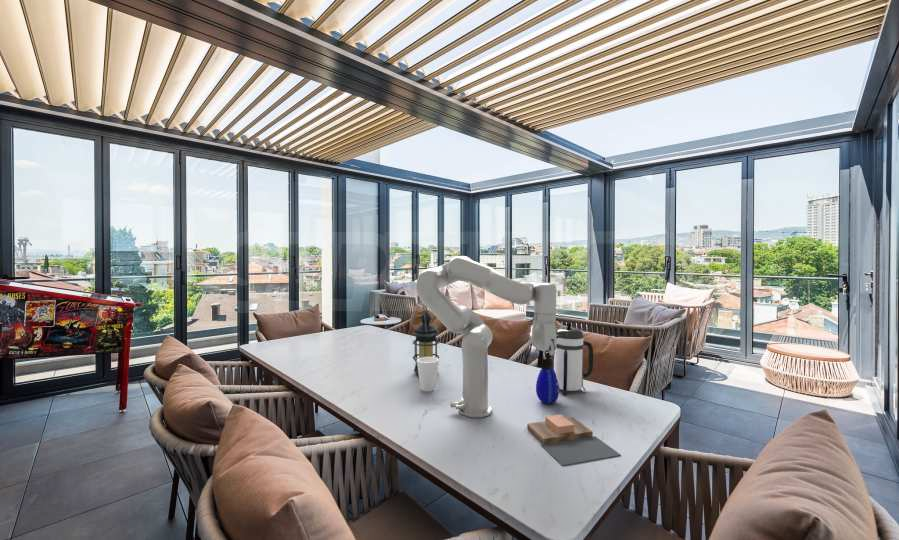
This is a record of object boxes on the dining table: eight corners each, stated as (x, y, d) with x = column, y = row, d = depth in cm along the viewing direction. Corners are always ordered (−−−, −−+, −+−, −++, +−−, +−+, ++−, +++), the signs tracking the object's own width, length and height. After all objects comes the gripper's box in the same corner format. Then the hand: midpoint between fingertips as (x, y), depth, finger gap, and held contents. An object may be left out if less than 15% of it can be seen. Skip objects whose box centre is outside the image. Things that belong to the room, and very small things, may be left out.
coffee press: (583, 399, 159) (585, 327, 157) (545, 391, 167) (546, 323, 166) (592, 386, 174) (594, 320, 172) (557, 380, 182) (558, 317, 180)
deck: (543, 445, 122) (543, 438, 122) (527, 429, 132) (527, 423, 132) (592, 437, 127) (592, 431, 127) (572, 422, 138) (572, 417, 137)
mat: (562, 466, 110) (562, 465, 110) (540, 445, 122) (541, 444, 122) (620, 455, 116) (620, 454, 116) (595, 436, 127) (595, 436, 127)
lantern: (438, 378, 185) (438, 305, 183) (411, 377, 185) (410, 305, 183) (439, 368, 199) (439, 301, 197) (414, 368, 199) (414, 301, 197)
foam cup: (413, 390, 168) (413, 361, 168) (422, 383, 177) (422, 355, 176) (433, 393, 165) (433, 363, 164) (441, 386, 173) (441, 358, 172)
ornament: (560, 408, 150) (560, 370, 149) (535, 406, 152) (536, 369, 151) (558, 398, 161) (558, 362, 160) (535, 396, 162) (536, 361, 162)
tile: (558, 434, 125) (558, 426, 125) (545, 423, 133) (545, 416, 132) (574, 431, 127) (574, 424, 127) (560, 421, 134) (560, 414, 134)
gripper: (524, 314, 144) (524, 362, 145) (547, 322, 129) (546, 376, 130) (542, 313, 146) (541, 361, 147) (566, 321, 131) (565, 374, 132)
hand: (544, 367), depth 139 cm, fingers closed
